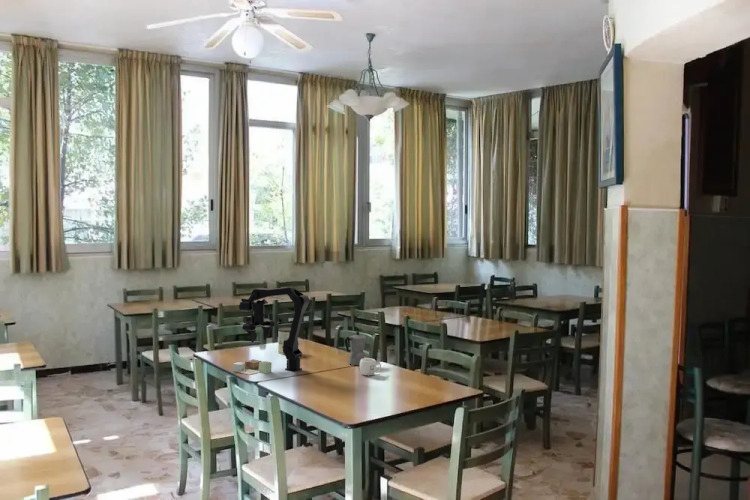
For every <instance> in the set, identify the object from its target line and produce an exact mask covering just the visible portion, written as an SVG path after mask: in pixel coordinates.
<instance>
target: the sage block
mask: <svg viewBox="0 0 750 500" xmlns="http://www.w3.org/2000/svg"><path fill="white" fill-rule="evenodd" d="M272 363H273V362H271V361H266V360H264V361H262V362H259V369H258V371H260V372H259V373H262V374H268V372H269V373H271V372H272Z"/></svg>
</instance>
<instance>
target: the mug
mask: <svg viewBox="0 0 750 500" xmlns="http://www.w3.org/2000/svg"><path fill="white" fill-rule="evenodd" d="M377 364H378V365H379V369H378V370H376V369H377ZM381 368H382V364H381V362H380V361H376V359H375V358H370V357H364V359H361V360H360V366H359V371H360V373H361V375H362V376H364V375H372V376H373V375H375V373H379V372H380V371H381Z"/></svg>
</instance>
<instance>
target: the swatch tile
mask: <svg viewBox="0 0 750 500" xmlns="http://www.w3.org/2000/svg"><path fill="white" fill-rule="evenodd" d="M258 373H261V372H260V371H259V370H250V369H245V371H241V372H239V374H244V375H249V376H250V375H252V376H253V375H254V374H258Z"/></svg>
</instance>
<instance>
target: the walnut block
mask: <svg viewBox="0 0 750 500" xmlns="http://www.w3.org/2000/svg"><path fill="white" fill-rule="evenodd" d="M259 362H263V361H262V360H259V359H255V358H254V359H249V360H246V361H244V363H245V370H249V369H250V370H255V371H257V370H259Z"/></svg>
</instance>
